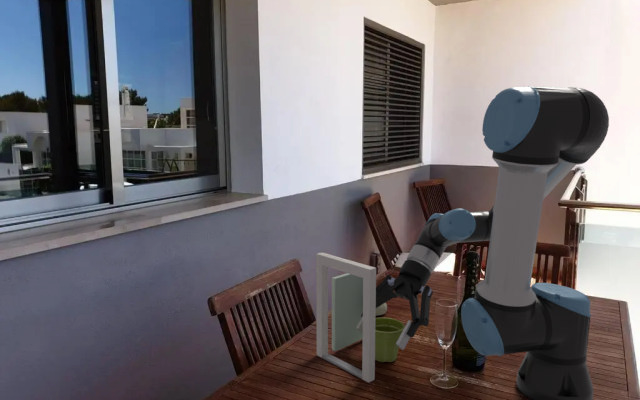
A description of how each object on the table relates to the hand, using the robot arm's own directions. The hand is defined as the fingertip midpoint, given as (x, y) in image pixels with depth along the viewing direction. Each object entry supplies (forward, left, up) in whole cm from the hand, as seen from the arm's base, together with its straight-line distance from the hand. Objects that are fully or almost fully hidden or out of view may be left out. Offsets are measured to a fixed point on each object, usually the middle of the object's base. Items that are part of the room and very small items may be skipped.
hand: (378, 338), depth 122 cm
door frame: (+3, +8, -6) cm, 11 cm away
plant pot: (0, -3, -6) cm, 7 cm away
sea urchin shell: (+23, -23, -6) cm, 33 cm away
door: (+11, -1, -5) cm, 12 cm away
